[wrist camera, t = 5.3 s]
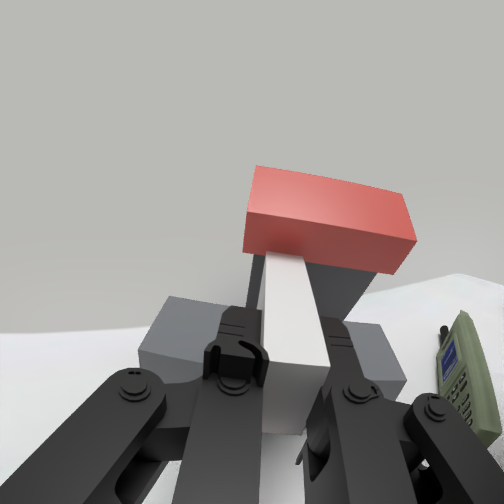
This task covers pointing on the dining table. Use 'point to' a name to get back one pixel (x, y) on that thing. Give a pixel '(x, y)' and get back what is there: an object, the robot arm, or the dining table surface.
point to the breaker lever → (326, 233)
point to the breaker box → (205, 331)
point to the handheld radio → (468, 379)
